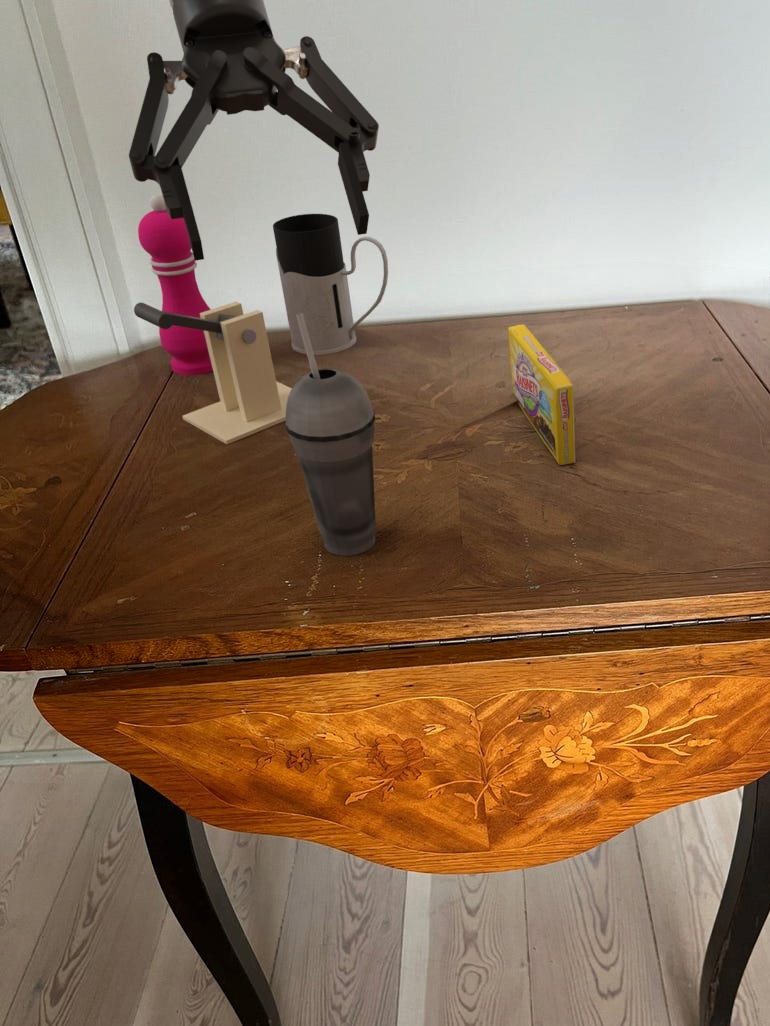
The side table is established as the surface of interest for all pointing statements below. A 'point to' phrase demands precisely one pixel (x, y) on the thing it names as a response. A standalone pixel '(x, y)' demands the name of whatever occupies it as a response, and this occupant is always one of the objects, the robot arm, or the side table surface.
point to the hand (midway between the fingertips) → (282, 238)
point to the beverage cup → (335, 453)
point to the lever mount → (241, 378)
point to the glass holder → (318, 281)
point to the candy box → (543, 393)
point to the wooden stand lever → (179, 319)
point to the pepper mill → (176, 287)
